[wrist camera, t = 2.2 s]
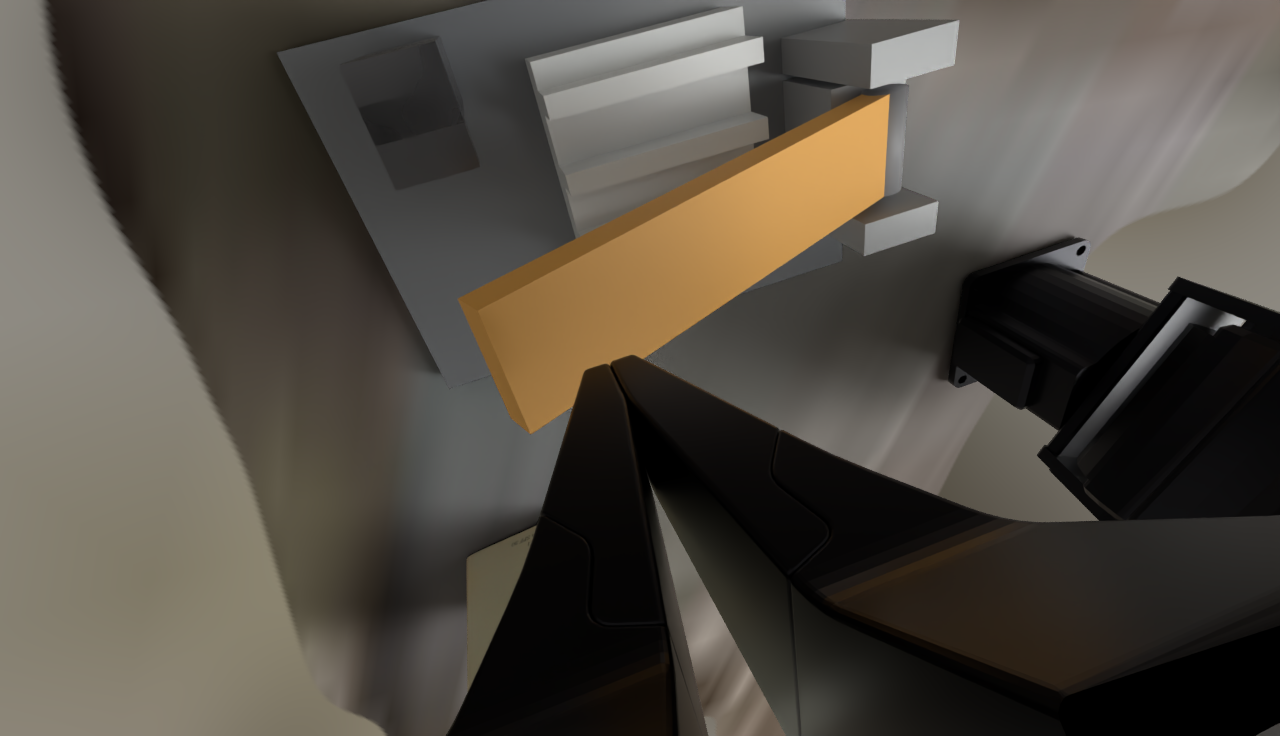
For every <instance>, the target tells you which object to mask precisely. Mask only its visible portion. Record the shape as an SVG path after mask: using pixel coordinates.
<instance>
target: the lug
mask: <svg viewBox="0 0 1280 736" xmlns="http://www.w3.org/2000/svg"><path fill="white" fill-rule="evenodd" d="M338 67H339V69H340V71H341V73H342V75H343V77H344V80H345V82H346V84H347V86H348V88H349V90H350V92H351V95H352V97H353V99H354V101H355V103H356V105H357V108H358V110H359V112H360V114H361V116H362V118H363V121H364V123H365V125H366V127H367V129H368V131H369V134H370V136H371V138H372V140H373V142H374V144H375V147H376V149H377V151H378V153H379V155H380V157H381V160H382V162H383V164H384V166H385V168H386V170H387V173H388V175H389V177H390V179H391V181H392V183H393V186H394V188H395V190H396V191H398V190H402V189H405V188H409V187H412V186H416V185H420V184H423V183H427V182H430V181H434V180H437V179H441V178H444V177H448V176H451V175H455V174H459V173H462V172H466V171H469V170H473V169H476V168H480V167H481V166H480V160H479V157H478V155H477V152H476V149H475V146H474V144H473V141H472V138H471V135H470V132H469V130H468V127H467V124H466V121H465V119H464V107H463V99H462V96H461V93H460V90H459V88H458V85H457V82H456V79H455V76H454V74H453V71H452V68H451V65H450V62H449V60H448V57H447V54H446V51H445V48H444V46H443V43H442V40H441V37H440V36H437V37H434V38H430V39H426V40H422V41H418V42H414V43H410V44H406V45H402V46H398V47H394V48H390V49H386V50H382V51H378V52H374V53H370V54H366V55H363V56H361V57H358V58H356V59H354V60H351V61H349V62H346V63H344V64H341V65H339V66H338Z"/></svg>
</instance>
